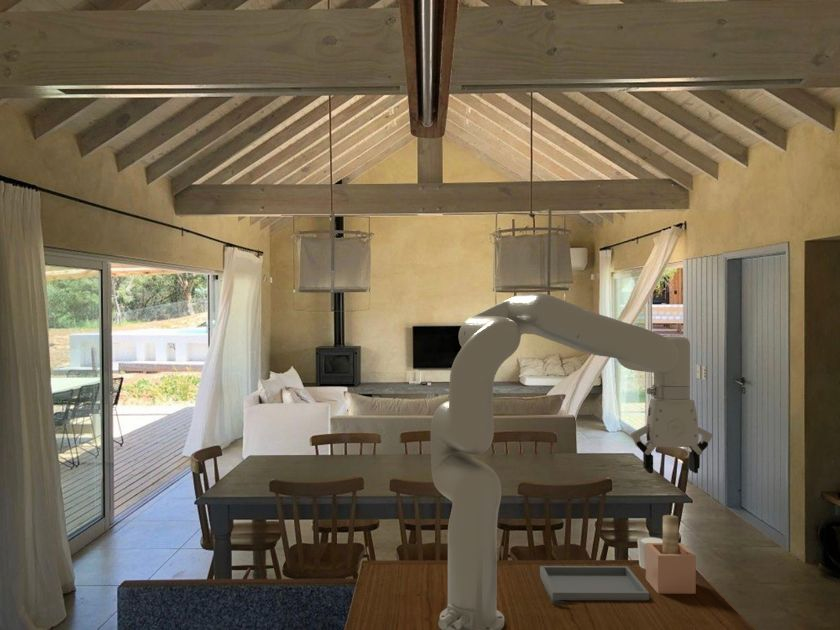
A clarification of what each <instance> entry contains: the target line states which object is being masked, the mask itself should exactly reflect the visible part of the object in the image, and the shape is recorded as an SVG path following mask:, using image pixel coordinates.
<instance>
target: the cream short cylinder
mask: <svg viewBox="0 0 840 630" xmlns="http://www.w3.org/2000/svg"><path fill="white" fill-rule="evenodd" d="M646 543H663V538H661V537H658V536H657V537H656V536H641V537H638V538H637V553H638V563H639V567H640V568H641V569H643V570H646Z"/></svg>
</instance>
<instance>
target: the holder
mask: <svg viewBox="0 0 840 630" xmlns="http://www.w3.org/2000/svg"><path fill="white" fill-rule="evenodd" d="M662 552H663V543H646V569H645V580H646V581H647V582H648V583H649V585H650V586H651V587H652V588H653V590H655V592H656V593H657V594H690V595H691V594H692V595H693V594H695V595H696V589H697V587H696V584H697V583H696V581H697V580H696V579H697V574H696V573H697V572H696V571H697V570H696V569H697V555H696V554H695V553H694V552H692V551H691V550H690V548H688V547H687V546H686V545H684V543H682V542H678V554H662Z"/></svg>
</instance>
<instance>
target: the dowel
mask: <svg viewBox="0 0 840 630" xmlns="http://www.w3.org/2000/svg"><path fill="white" fill-rule="evenodd" d="M662 539H663V552H662V554H678V543H679V516H677V515H673V514H665V515H662Z"/></svg>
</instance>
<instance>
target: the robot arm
mask: <svg viewBox="0 0 840 630" xmlns="http://www.w3.org/2000/svg"><path fill="white" fill-rule="evenodd" d="M524 334H526V335H535V336H539V337H541V338H544V339H546V340H549V341H552V342H554V343H558V344H560V345H563V346H566V347H569V348H571V349H573V350H576V351H578V352H580V353H584V354H589V355H593V356H599V357H605V358H613V359H616V360H617V362H618V363H619V364H620V365H621V366H622V367H623V368H626V369H627V370H631V371H638V372H643V373H644V372H645V373H652V375H653V376H652V377H653V380H652V381H653V384H652V385H651V387H648V388H646V394H647V395H651V396H652V398H650V399H649V400H650V401H649V404H648V410H647V416H646V425H644V426H642V427H640V428H638V429H637V430H634V431H633V432H631V433H630V437H631V438H632V440H633V443H634V444H635V446H636V447H637V448H638V449H639V451H641V452H642V454H643V455H642V457H643V458H642V461H643V463H642V465H643V466H642V467H643V469H644V470H645V471H646V472H647V473H649V474H653V473H654V455H653V454H652V452H653V451H654V450H655V448H656V447H659V448H689V450H691V451H689V453H688V462H689V463H688V469H689V471H691V472H692V473H694V474H698V473H699V469H700V467H701V466H700V465H701V464H700V463H701V462H700V461H701V459H700V457H701V455H702V454H703V451H704V450H705V449H706V448H707V447H708V446H709V443H710V442H711V440H712V437H713V434H712V433H711V432H709V431H707V430H705V429H703V428H701V427H699V421H698V414H697V413H698V412H697V407H696V403H695V400H694V399H691V343H690V340H689V339H688V338H687V337H685V336H676V335H675V336H671V335H668V336H667V335H665V336H664V335H661V334H659V333H657V332H655V331H652V330H649V329H646V328H643V327H641V326H638V325H635V324H632V323H628V322H624V321H621V320H618V319H616V318H613V317H610V316H606V315H602V314H599V313H597V312H594V311H591V310H589V309H586V308H584V307H581V306H579V305H576V304H574V303H571V302H569V301H566V300H563V299H561V298H559V297H556V296H553V295H551V294H547V293H543V292H542V293H541V292H533V293H520V294H517V295H514V296H512V297H510V298H507V299H505V300H504V301H501V302H499V303H497V304H495V305H493V306H490V307H489V308H487V309H485V310H482V311H480V312H477V313H476V314H474V315H472V316H470V317H469V318H468V317H467V319H466V320H465V321H464V322H463V323H462V324H461V326H460V328H459V331H458V341H459V342H458V343H459V345H460V347H461V348H460V350H459V351H458V352H457V355H456V356H455V358H454V359H453V362H452V365H451V369H450V374H449V388H448V389H449V390H448V391H449V392H448V393H449V394H448V400H447V401H444V402H443V403H441V404H440V405H439V406H438V407H437V408H436V410H435V412H434V413H433V416H432V419H431V423H430V459H431V460H430V462H431V463H430V464H431V465H430V466H431V467H430V468H431V478H432V482H433V485H434V487H435V489H436V490H437V491H438V492H439V493H440V494H441V495H442V496H444V497H445V498H447V499H448V500H449V501H450V502H451V505H452V506H451V510H450V511H451V512H450V514H449V515H450V516H449V520H448V524H447V525H448V526H447V605H446V608H445V609H443V610H442V611H441V612H440V614H439V620H438V623H437V624H438V628H439V629H440V630H503V628H504V627H505V616H504V614H503V613H502V612H501V611H499V610H498V609H497V603H498V602H497V601H498V600H497V599H498V598H497V595H498V593H497V591H498V590H497V587H498V586H497V585H498V584H497V580H498V579H497V577H498V573H497V572H498V568H497V567H498V566H497V564H498V560H497V559H498V558H497V557H498V543H497V542H498V541H497V540H498V536H497V535H498V520H499V518H498V517H499V510H500V505H501V498H502V484H501V481H500V478H499V476H498V475H497V473H496V471H495V470H494V469H493V468H492V467H491V466H489V465H488V464H486V463H484V462H483V461H481V460H479V459H477V458H475V455H480V454H484V453H485V452H486V451H487V450H488V449H490V447H491V445H492V443H493V441H494V440H493V439H494V433H495V429H494V428H495V427H494V425H495V424H494V383H495V377H496V376H497V372H498V370H499V369H500V367H501V366H502V365H503V364H504V362H505V361H506V360H508V359H509V358H510V357H511V356H513V355H514V354H515V353H516V351H517V350H518V348H519V346H520V343H521V337H522V335H524ZM644 435H645V436H646V437H645V438H646V442H645V444H644V443H643V441H642V440H641V437H642V436H644ZM699 435H701V436H702V438H701V440H700V439H699ZM699 440H700V441H699Z"/></svg>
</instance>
